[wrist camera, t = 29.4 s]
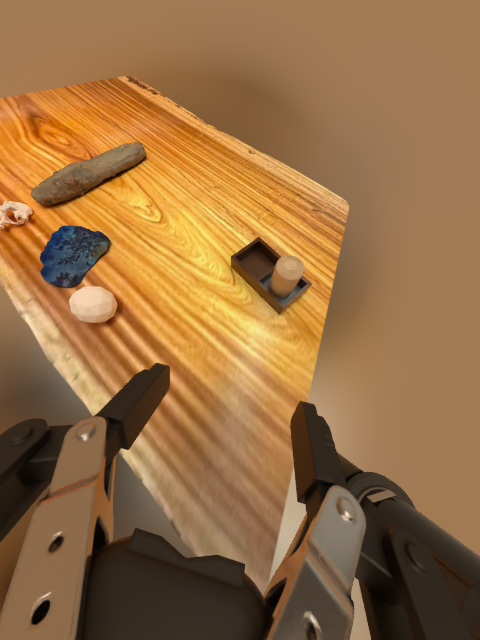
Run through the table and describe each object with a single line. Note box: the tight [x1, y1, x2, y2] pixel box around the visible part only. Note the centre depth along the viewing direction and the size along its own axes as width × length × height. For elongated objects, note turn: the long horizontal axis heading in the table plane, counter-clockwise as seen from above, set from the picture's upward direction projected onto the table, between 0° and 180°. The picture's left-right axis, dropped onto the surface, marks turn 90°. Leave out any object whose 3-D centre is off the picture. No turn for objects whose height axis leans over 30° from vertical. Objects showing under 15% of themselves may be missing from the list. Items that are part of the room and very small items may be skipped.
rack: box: [231, 237, 312, 314], centre depth 42 cm, size 17×9×4 cm, turn 41°
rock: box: [40, 226, 110, 287], centre depth 44 cm, size 15×17×2 cm
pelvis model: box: [0, 201, 33, 229], centre depth 47 cm, size 8×4×7 cm
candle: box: [269, 255, 304, 299], centre depth 37 cm, size 6×6×10 cm
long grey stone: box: [31, 142, 146, 205], centre depth 52 cm, size 35×5×10 cm
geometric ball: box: [69, 286, 118, 323], centre depth 37 cm, size 8×8×8 cm
